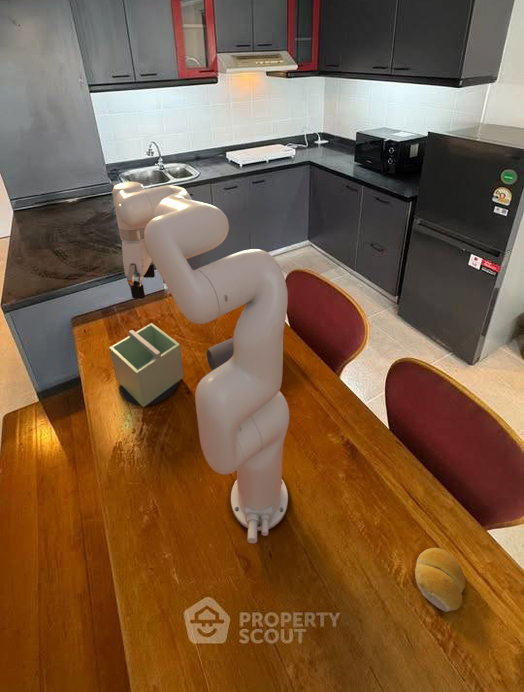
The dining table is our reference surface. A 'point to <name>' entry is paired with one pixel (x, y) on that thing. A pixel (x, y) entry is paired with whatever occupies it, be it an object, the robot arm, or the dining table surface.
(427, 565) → the bread roll
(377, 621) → the dining table surface
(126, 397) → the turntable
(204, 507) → the dining table surface
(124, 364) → the bin
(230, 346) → the bluetooth speaker
